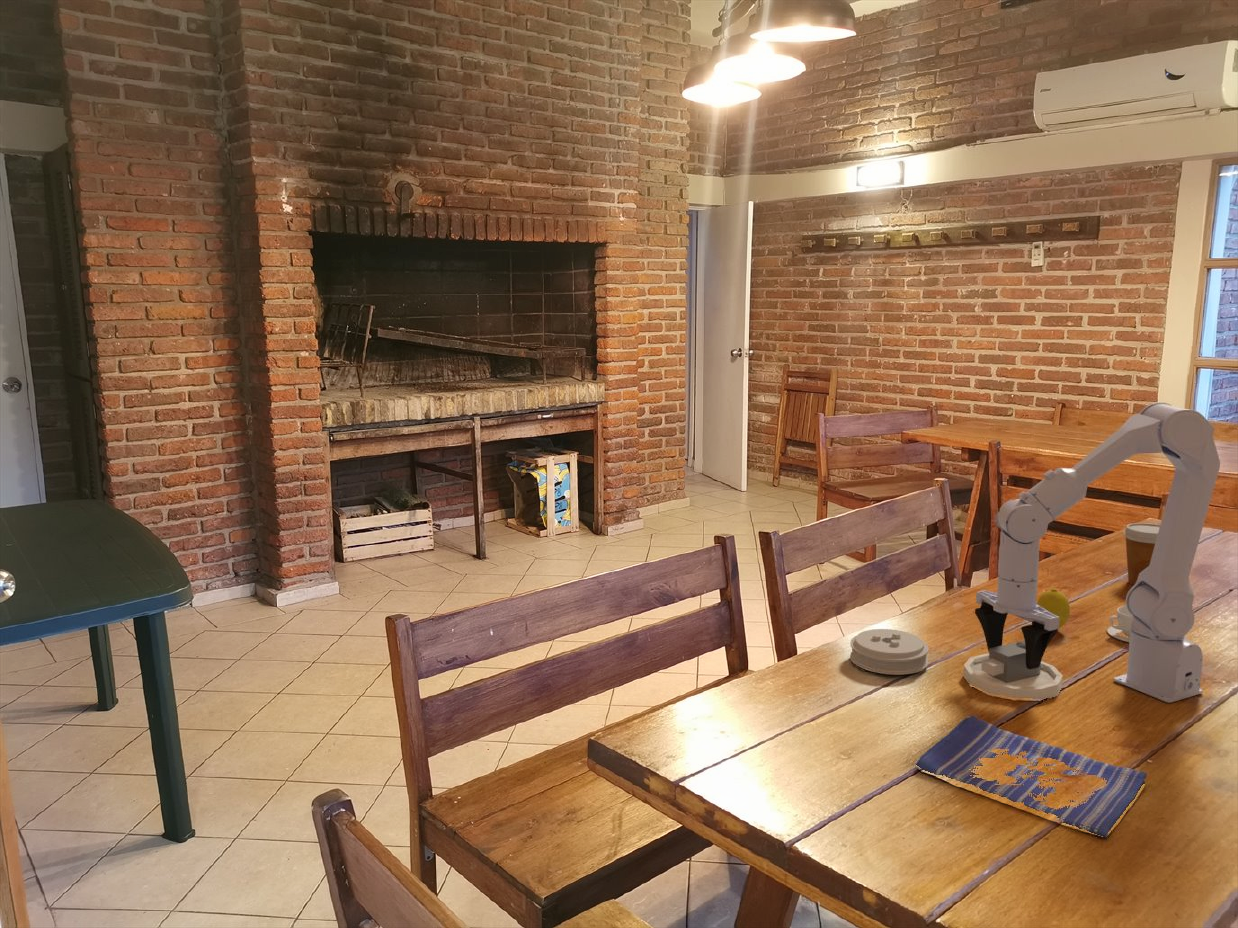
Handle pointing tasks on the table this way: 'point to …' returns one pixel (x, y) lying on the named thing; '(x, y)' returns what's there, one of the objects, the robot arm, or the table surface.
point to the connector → (1009, 663)
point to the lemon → (1055, 605)
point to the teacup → (1121, 624)
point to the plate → (1030, 687)
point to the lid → (889, 652)
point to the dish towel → (1033, 773)
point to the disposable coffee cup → (1139, 547)
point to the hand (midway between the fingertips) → (1013, 659)
